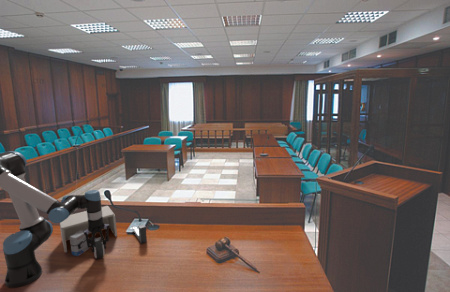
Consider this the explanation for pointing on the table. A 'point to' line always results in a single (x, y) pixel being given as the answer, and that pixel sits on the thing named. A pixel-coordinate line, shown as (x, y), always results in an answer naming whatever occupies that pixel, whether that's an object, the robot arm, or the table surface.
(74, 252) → the ink box
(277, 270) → the table surface
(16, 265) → the robot arm
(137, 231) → the plain bar
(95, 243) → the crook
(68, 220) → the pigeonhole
